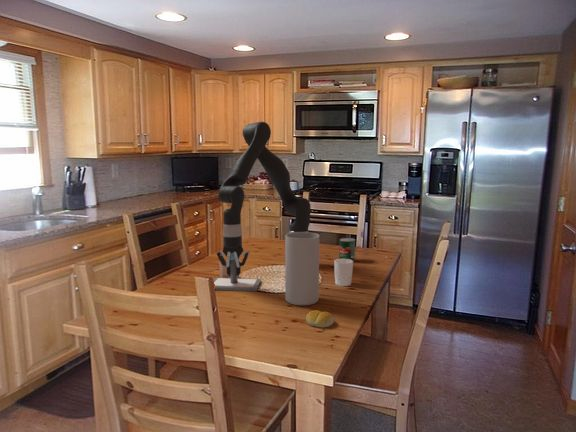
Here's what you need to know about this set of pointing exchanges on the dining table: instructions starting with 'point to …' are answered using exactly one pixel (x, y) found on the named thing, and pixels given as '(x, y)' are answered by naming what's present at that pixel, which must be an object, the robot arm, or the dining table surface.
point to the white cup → (343, 271)
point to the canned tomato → (347, 249)
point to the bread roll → (319, 319)
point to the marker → (233, 269)
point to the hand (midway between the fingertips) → (233, 275)
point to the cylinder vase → (302, 268)
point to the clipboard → (237, 284)
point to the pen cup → (223, 271)
